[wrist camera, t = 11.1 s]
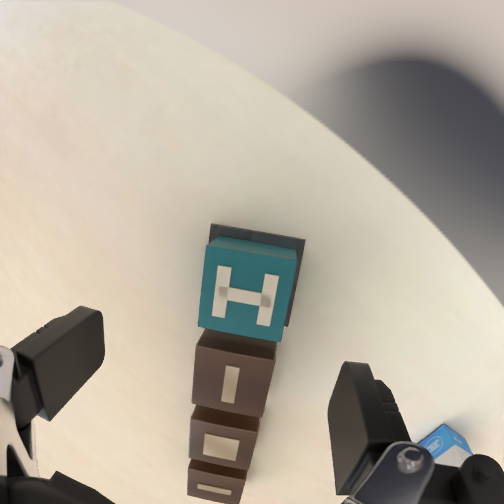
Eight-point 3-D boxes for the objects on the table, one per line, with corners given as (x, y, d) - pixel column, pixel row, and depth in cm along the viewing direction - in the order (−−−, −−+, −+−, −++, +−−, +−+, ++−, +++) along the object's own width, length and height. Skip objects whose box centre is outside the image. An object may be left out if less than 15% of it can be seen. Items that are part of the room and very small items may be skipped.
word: (211, 223, 19) (197, 231, 16) (305, 239, 19) (308, 250, 16) (189, 471, 24) (181, 494, 21) (248, 483, 24) (244, 507, 21)
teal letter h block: (218, 235, 19) (205, 245, 16) (295, 248, 19) (297, 261, 16) (209, 306, 20) (197, 327, 17) (281, 320, 20) (280, 343, 17)
